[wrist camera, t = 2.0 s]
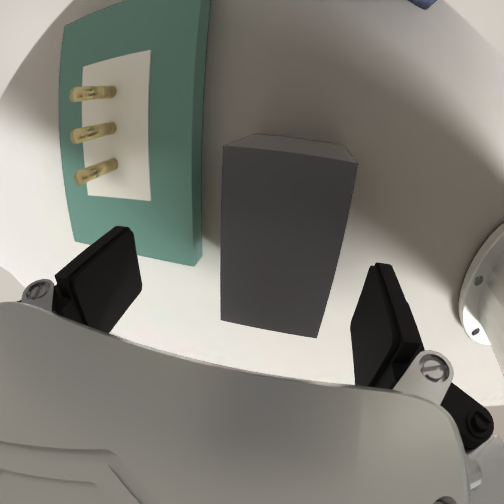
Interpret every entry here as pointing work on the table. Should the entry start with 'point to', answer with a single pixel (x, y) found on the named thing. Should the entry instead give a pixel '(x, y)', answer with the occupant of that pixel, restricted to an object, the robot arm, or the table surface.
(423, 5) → the small box
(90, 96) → the header pins
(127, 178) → the board
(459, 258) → the table surface
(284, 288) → the block
